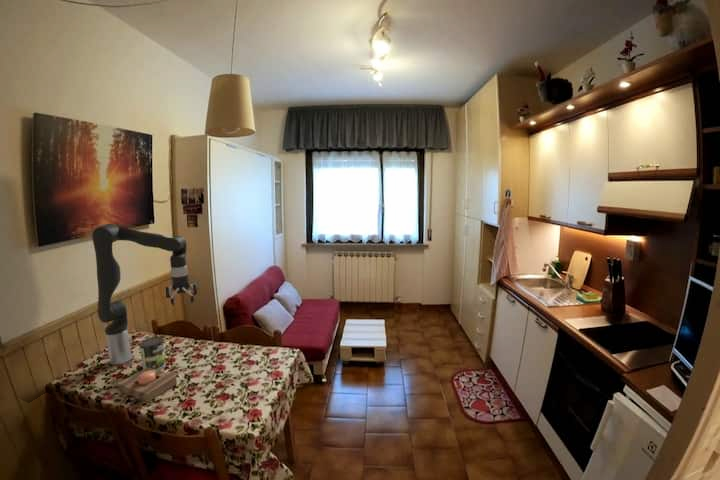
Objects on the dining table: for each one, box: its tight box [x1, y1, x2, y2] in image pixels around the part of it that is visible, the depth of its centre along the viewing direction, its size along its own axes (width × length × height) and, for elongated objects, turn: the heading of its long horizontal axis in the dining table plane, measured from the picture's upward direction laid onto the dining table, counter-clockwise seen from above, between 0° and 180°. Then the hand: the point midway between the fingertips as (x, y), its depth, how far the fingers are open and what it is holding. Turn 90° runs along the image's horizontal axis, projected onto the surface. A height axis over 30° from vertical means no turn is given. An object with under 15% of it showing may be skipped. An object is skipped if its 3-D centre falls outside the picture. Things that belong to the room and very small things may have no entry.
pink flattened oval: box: [138, 371, 156, 387], centre depth 146 cm, size 7×7×4 cm
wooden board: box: [117, 367, 177, 403], centre depth 146 cm, size 20×14×4 cm
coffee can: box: [138, 336, 167, 370], centre depth 162 cm, size 10×10×14 cm
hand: (183, 303), depth 165 cm, fingers open, 8 cm apart
